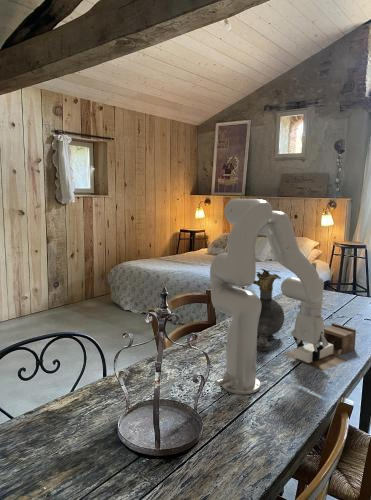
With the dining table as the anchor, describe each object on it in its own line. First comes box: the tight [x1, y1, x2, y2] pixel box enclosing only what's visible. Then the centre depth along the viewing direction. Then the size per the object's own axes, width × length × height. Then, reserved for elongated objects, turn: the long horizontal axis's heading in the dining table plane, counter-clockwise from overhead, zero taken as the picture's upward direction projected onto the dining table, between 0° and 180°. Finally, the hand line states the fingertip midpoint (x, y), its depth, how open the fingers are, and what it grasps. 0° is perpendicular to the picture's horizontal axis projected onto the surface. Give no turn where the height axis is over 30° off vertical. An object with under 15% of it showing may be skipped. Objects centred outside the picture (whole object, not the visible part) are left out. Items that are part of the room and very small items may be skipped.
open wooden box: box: [282, 322, 357, 372], centre depth 155 cm, size 26×18×9 cm
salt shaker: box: [257, 323, 272, 352], centre depth 157 cm, size 6×6×12 cm
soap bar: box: [295, 342, 334, 363], centre depth 151 cm, size 15×6×4 cm, turn 127°
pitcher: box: [241, 268, 285, 341], centre depth 173 cm, size 11×19×30 cm, turn 56°
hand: (307, 357), depth 149 cm, fingers closed on soap bar, 6 cm apart
